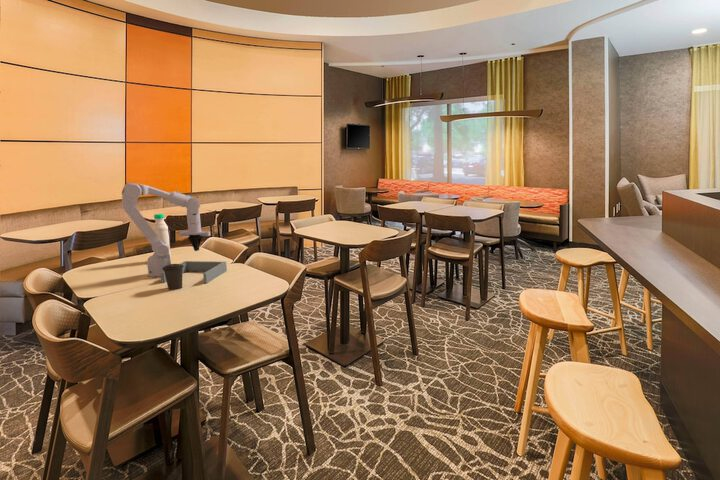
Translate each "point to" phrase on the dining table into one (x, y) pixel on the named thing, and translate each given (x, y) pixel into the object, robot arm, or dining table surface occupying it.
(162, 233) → the water bottle
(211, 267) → the gray rectangular arch
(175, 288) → the coffee cup
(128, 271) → the dining table surface
